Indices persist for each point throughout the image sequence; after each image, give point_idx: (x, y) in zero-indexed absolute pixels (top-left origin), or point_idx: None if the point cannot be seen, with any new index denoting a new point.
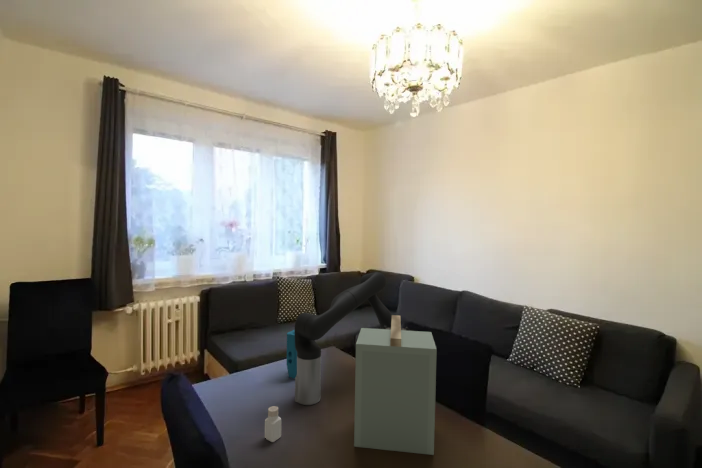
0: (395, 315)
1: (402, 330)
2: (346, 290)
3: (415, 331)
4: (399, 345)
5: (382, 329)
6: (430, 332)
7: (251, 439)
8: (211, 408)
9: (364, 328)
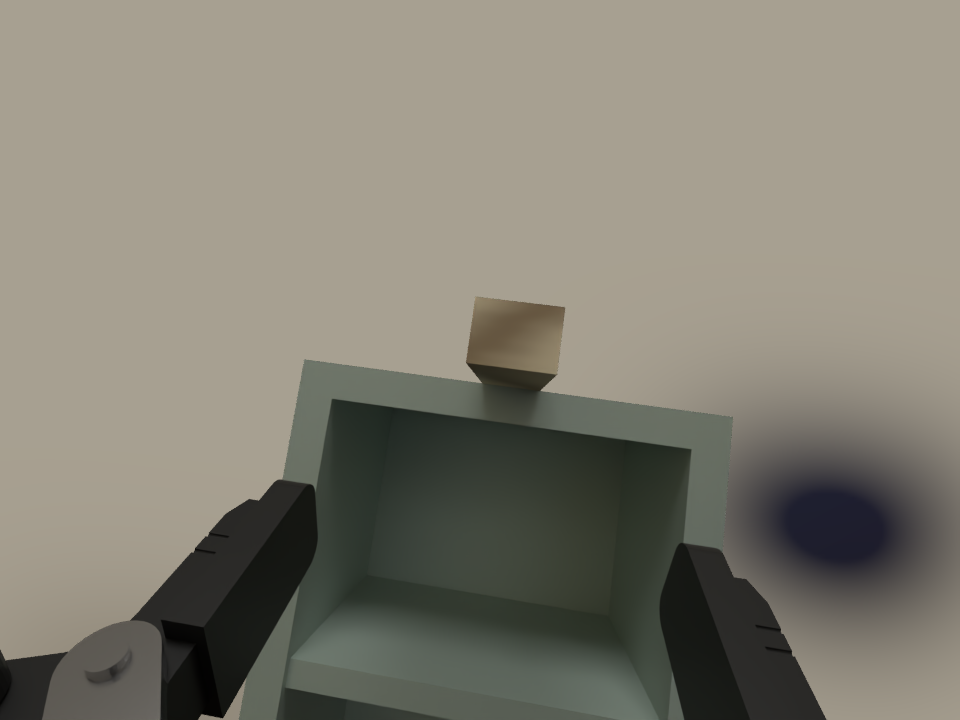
0: (526, 304)
1: (471, 382)
2: None
3: (396, 372)
4: None
5: (593, 398)
6: (313, 361)
7: None
8: None
9: (708, 414)
